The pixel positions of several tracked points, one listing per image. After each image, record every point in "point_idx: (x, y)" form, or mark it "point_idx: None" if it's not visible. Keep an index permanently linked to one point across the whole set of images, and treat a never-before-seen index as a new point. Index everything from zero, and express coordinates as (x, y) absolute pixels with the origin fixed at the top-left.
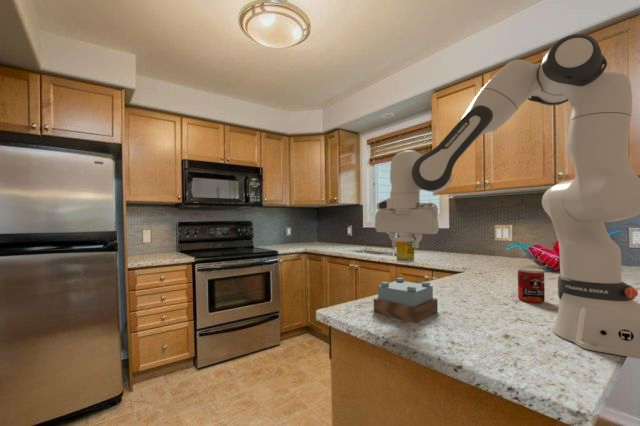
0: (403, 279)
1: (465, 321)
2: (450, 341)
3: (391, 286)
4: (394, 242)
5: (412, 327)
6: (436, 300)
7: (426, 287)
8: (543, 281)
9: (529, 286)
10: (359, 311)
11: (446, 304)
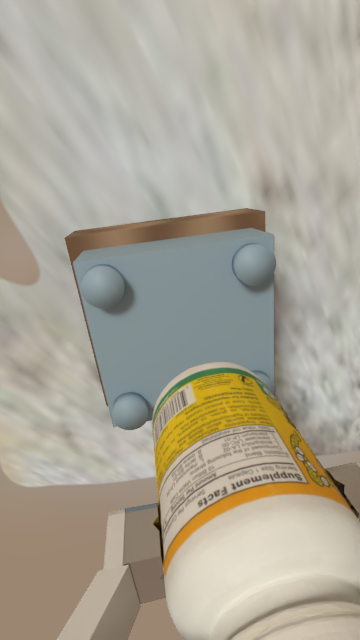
0: (122, 281)
1: (350, 230)
2: (357, 384)
3: (153, 391)
4: (147, 591)
5: None
6: (263, 220)
7: (268, 290)
8: None
9: None
10: (79, 408)
11: (225, 64)
